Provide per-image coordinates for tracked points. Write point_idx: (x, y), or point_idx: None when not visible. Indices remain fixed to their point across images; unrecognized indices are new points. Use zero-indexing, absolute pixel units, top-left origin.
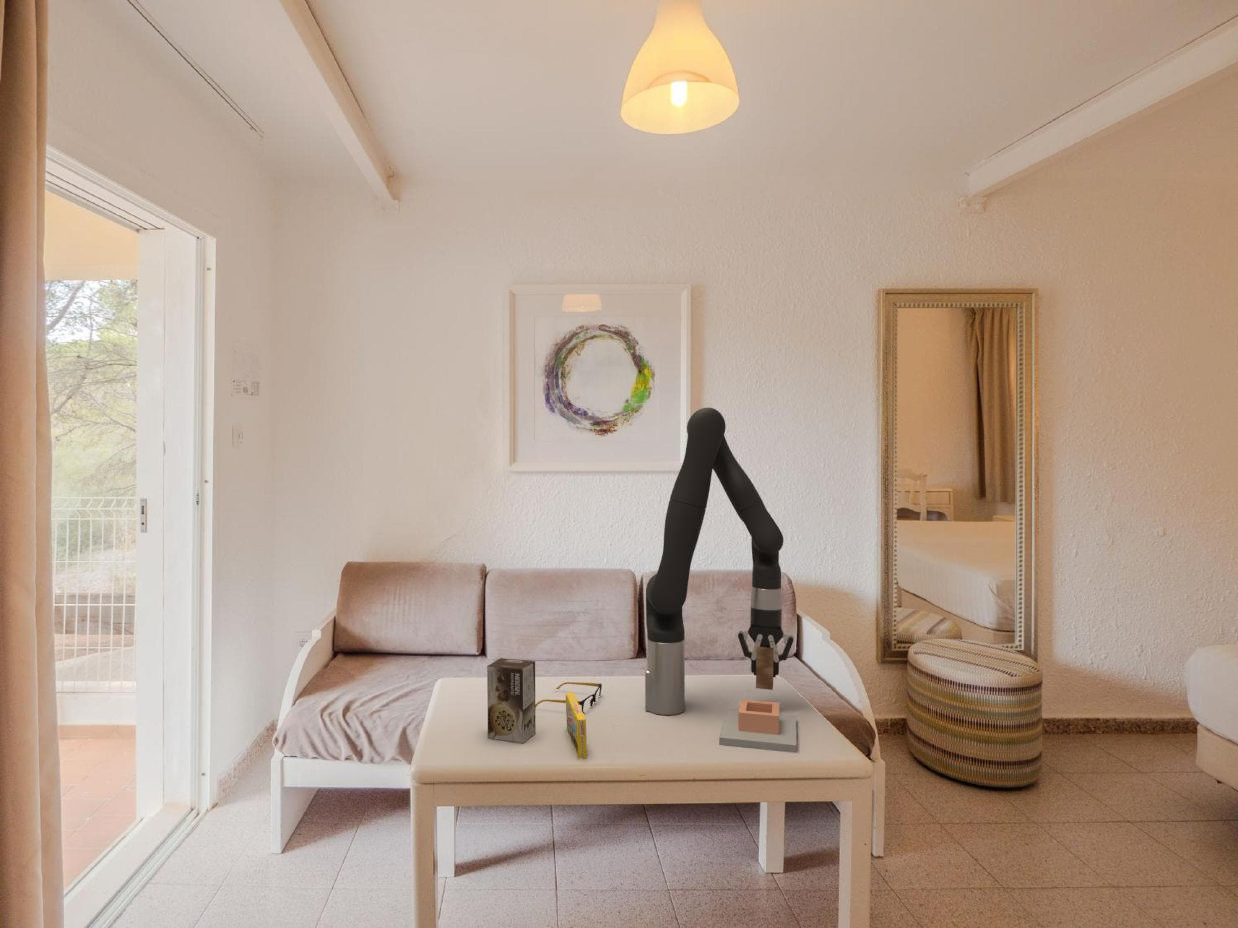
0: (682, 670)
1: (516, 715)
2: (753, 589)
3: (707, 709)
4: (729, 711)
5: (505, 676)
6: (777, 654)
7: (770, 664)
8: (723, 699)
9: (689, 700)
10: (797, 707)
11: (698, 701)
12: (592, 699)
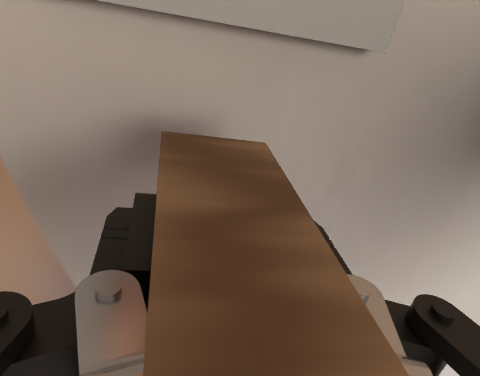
0: None
1: None
2: None
3: (430, 101)
4: (388, 4)
5: None
6: (83, 352)
7: (183, 230)
8: (342, 213)
9: (461, 183)
10: (44, 182)
11: (435, 179)
12: None
